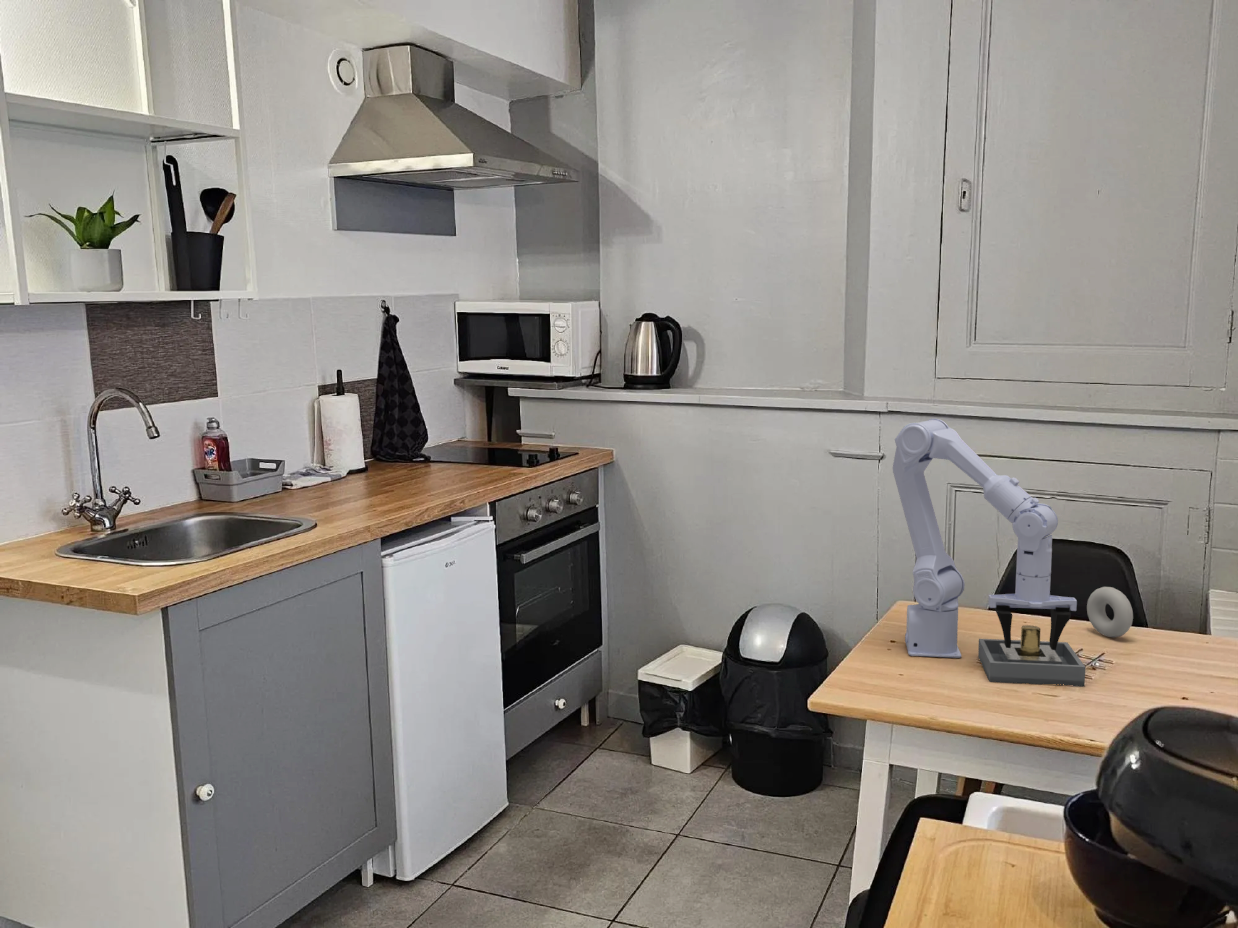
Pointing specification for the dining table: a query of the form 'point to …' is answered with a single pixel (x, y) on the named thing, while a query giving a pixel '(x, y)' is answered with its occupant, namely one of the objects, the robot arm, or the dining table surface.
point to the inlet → (1014, 656)
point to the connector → (1030, 641)
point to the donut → (1119, 606)
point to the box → (1031, 666)
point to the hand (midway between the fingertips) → (1030, 647)
